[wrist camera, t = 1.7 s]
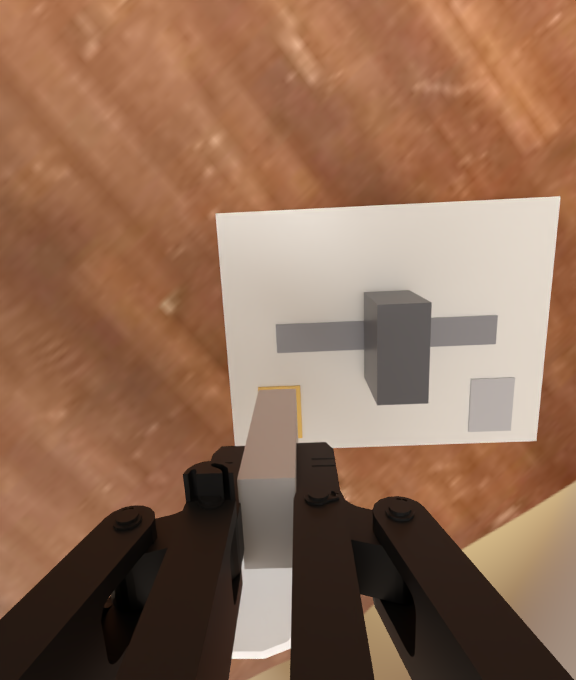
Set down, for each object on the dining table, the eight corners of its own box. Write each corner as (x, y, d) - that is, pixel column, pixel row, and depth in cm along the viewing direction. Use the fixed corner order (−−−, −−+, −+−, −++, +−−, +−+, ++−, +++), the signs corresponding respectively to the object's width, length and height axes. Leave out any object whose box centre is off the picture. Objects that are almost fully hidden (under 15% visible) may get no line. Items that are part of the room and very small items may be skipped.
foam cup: (283, 419, 39) (278, 512, 26) (329, 503, 41) (345, 627, 28) (189, 463, 40) (141, 572, 27) (238, 542, 42) (214, 678, 29)
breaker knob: (364, 292, 30) (377, 304, 25) (409, 290, 29) (431, 302, 25) (364, 377, 31) (377, 405, 26) (407, 375, 31) (428, 403, 26)
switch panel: (228, 215, 35) (215, 213, 29) (515, 201, 34) (562, 196, 28) (244, 417, 39) (235, 452, 33) (499, 408, 38) (537, 442, 32)
